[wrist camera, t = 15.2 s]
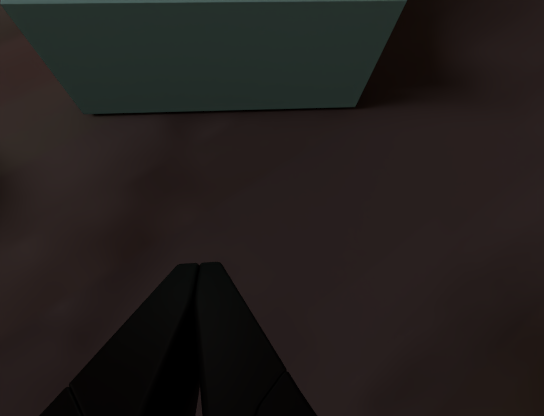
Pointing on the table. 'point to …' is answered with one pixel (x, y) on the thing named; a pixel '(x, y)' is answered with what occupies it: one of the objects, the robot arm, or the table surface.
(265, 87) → the white and teal drawer
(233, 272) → the table surface
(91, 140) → the table surface
